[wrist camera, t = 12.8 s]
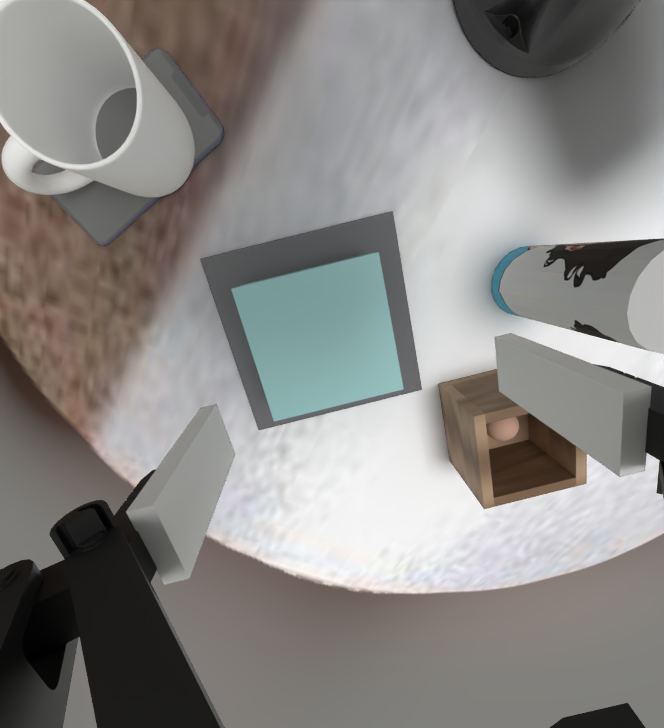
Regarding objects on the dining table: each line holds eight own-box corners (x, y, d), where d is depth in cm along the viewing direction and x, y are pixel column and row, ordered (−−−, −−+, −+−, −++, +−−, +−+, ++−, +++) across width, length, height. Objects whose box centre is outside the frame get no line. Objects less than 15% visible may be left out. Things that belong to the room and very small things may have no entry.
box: (438, 383, 36) (473, 416, 29) (527, 361, 36) (586, 388, 29) (449, 460, 40) (484, 509, 32) (532, 440, 40) (586, 483, 32)
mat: (201, 258, 31) (200, 259, 31) (391, 211, 31) (392, 211, 31) (259, 428, 36) (258, 430, 36) (420, 388, 36) (421, 389, 36)
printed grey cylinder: (547, 316, 35) (713, 355, 21) (485, 313, 35) (612, 352, 20) (563, 248, 33) (758, 239, 19) (498, 244, 33) (649, 232, 18)
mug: (109, 242, 30) (13, 235, 20) (36, 152, 28) (-113, 92, 18) (218, 164, 29) (173, 114, 19) (152, 62, 26) (61, -55, 17)
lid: (242, 284, 31) (231, 289, 27) (367, 253, 32) (378, 252, 27) (278, 398, 35) (274, 421, 30) (389, 370, 35) (403, 389, 30)
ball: (475, 407, 37) (492, 421, 33) (505, 399, 37) (525, 413, 33) (478, 434, 38) (494, 450, 34) (508, 426, 38) (527, 442, 34)
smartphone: (26, 172, 28) (158, 39, 26) (35, 175, 29) (163, 47, 26) (100, 250, 30) (227, 133, 28) (106, 250, 31) (230, 137, 29)
